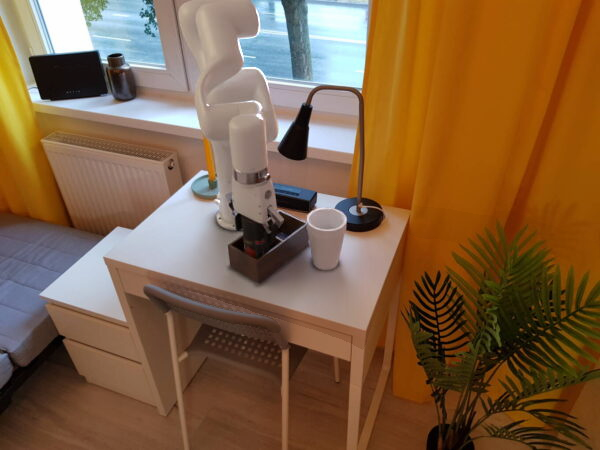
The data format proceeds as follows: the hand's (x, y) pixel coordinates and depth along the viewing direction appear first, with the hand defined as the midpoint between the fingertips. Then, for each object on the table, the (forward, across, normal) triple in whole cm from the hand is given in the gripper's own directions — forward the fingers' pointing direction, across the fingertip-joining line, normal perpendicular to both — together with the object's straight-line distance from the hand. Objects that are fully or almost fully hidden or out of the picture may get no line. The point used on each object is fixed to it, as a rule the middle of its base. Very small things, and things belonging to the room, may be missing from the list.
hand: (255, 235), depth 115 cm
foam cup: (+10, -12, -12) cm, 19 cm away
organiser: (+9, 0, -5) cm, 10 cm away
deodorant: (+10, 0, 0) cm, 10 cm away
